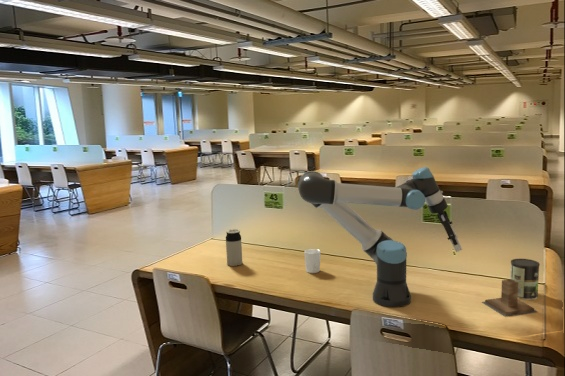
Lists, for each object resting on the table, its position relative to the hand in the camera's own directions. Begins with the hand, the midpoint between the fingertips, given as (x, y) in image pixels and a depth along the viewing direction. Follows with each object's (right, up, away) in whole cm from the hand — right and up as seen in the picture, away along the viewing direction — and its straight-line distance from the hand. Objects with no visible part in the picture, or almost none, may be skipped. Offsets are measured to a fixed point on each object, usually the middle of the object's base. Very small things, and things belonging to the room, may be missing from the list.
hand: (457, 244), depth 199 cm
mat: (+12, -22, -22) cm, 33 cm away
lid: (+12, -21, -22) cm, 33 cm away
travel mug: (-100, -16, +44) cm, 110 cm away
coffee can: (+23, -20, -11) cm, 32 cm away
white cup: (-60, -17, +28) cm, 69 cm away
